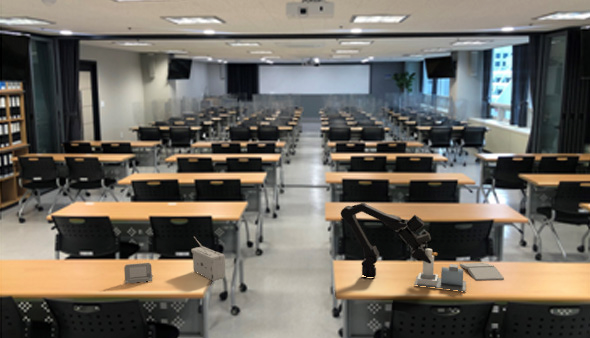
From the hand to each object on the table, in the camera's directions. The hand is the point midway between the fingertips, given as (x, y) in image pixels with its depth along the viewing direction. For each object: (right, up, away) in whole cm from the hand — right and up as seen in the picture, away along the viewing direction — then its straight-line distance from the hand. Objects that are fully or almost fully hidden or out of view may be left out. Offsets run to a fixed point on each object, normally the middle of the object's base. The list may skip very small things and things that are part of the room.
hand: (431, 261), depth 251 cm
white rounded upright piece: (-1, -6, +1) cm, 7 cm away
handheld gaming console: (-148, -12, +11) cm, 149 cm away
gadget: (+31, -10, +17) cm, 37 cm away
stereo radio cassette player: (-113, -11, +16) cm, 115 cm away
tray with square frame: (+5, -12, 0) cm, 13 cm away
